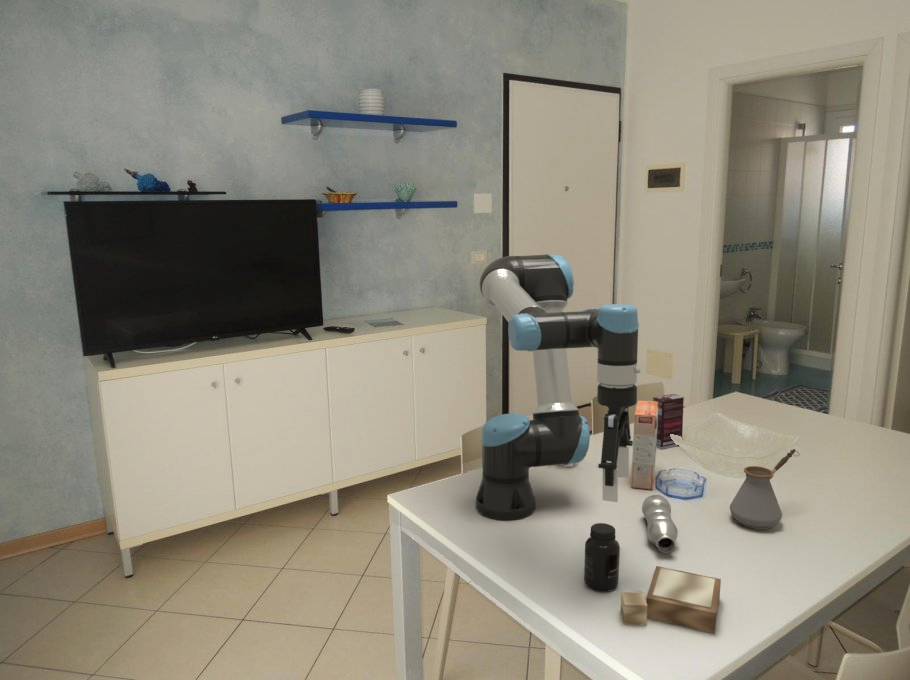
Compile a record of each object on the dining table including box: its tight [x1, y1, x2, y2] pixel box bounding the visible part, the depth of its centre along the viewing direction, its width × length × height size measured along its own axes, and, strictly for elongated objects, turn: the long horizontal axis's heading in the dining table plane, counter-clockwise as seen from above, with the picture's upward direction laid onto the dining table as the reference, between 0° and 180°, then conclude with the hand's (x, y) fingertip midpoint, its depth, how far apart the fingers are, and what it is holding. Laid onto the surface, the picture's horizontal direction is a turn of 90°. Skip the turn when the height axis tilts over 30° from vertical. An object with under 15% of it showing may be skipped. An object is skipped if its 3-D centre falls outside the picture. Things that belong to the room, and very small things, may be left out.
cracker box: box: [630, 399, 658, 491], centre depth 182 cm, size 14×6×21 cm, turn 161°
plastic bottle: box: [641, 494, 679, 553], centre depth 152 cm, size 6×7×20 cm
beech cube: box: [620, 591, 648, 626], centre depth 122 cm, size 4×4×4 cm
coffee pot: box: [729, 448, 800, 530], centre depth 160 cm, size 21×12×15 cm, turn 124°
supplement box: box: [652, 393, 685, 450], centre depth 208 cm, size 9×5×16 cm, turn 114°
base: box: [645, 565, 722, 634], centre depth 125 cm, size 12×12×4 cm
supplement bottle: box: [583, 522, 621, 593], centre depth 133 cm, size 7×7×12 cm
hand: (616, 488), depth 133 cm, fingers open, 13 cm apart
